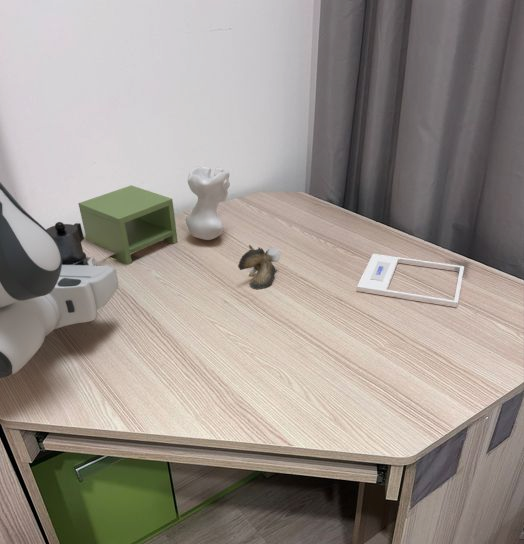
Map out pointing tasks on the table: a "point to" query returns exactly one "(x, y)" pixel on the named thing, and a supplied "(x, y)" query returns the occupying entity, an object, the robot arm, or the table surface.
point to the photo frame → (382, 273)
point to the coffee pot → (69, 242)
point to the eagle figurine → (260, 265)
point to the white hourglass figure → (207, 201)
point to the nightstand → (128, 221)
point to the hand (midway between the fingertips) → (71, 260)
